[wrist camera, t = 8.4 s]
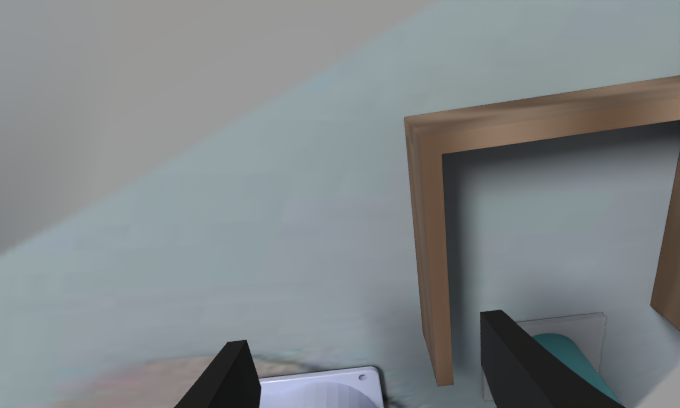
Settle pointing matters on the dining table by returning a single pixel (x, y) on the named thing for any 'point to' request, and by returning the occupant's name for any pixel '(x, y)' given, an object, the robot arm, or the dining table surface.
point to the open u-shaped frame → (516, 127)
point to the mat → (577, 328)
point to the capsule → (573, 360)
